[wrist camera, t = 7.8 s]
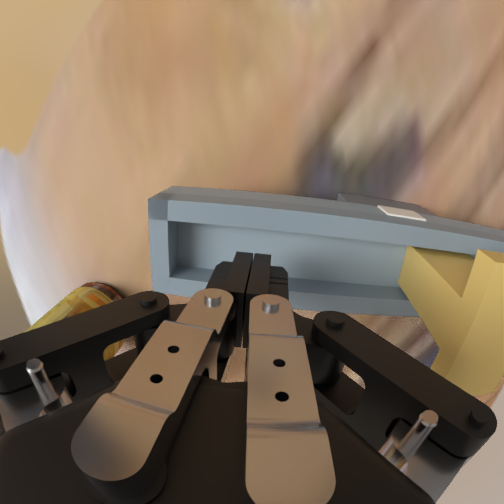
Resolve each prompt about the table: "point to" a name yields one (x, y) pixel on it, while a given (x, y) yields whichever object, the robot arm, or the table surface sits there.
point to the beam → (303, 244)
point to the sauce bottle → (77, 303)
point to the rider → (460, 312)
